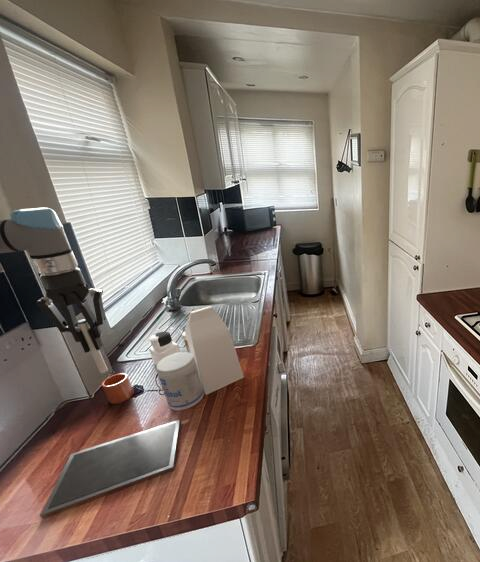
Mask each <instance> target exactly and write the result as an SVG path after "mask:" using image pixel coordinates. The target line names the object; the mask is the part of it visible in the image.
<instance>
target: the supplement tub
mask: <svg viewBox="0 0 480 562" xmlns="http://www.w3.org/2000/svg"><path fill="white" fill-rule="evenodd" d="M156 372H157V377H158V379H159V383H160V385H161V388H162V390H163V394H164V396H165V399H166V402H167V405H168V407H169V408H170V409H171V410H172V411H184V410H187V409H190V408H192V407H194V406H196V405H197V404H199V403H200V402H201V401H202V400H203V398H204V395H205V392H204V391H203V387H202V384H201V380H200V377H199V373H198V369H197V366H196V362H195V359H194V357H193V355H192V354H191V353H188V352H187V351H180V352H179V353H175V354H172V355H169V356H167V357H165V358H164V359H162V360H161V361H160V362H159V363H158V364H157V366H156Z"/></svg>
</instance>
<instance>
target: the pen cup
mask: <svg viewBox="0 0 480 562" xmlns="http://www.w3.org/2000/svg"><path fill="white" fill-rule="evenodd" d="M101 386H102V389H103V390H104V393H105V395H106V397H107V399H108V402H109V403H110V404H120V403H123V402H125V401H128V400H129V399H130V398H132V397H133V395H134V394H135V390H134V388H133V385H132V382H131V380H130V378H129V376H128V374H127V373H125V372H120V373H115V374H112V375H111V376H108V377H107V378H105V379H104V380H103V381H102V382H101Z"/></svg>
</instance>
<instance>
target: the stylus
mask: <svg viewBox="0 0 480 562" xmlns="http://www.w3.org/2000/svg"><path fill="white" fill-rule="evenodd" d="M77 322H78V326H79V328H80V329H81V331H82V333H83V336H84V338H85V340H86V342H87V345H88V347H89V349H90V351H89V352H90V354H91V356H92V358H93V360H94V363H95V364H96V367H97V370H98V371H99V373H100V374H105V373H108V371H109V368H108V366H107V364H106V362H105V359H104V357H103V355H102V353H101V349H100V350H96V348H95V346H94V344H93V342H92V339H91V337H90V335H89V333H88V329H89V328H90V326H89V325H88V323H87V321H86V319H85V318H83V319H79V320H77Z"/></svg>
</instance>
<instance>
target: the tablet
mask: <svg viewBox="0 0 480 562" xmlns="http://www.w3.org/2000/svg"><path fill="white" fill-rule="evenodd" d="M181 426H182V420H181V419H176V420H173V421H171V422H167V423H164V424H161V425H157V426H155V427H151V428H147V429H145V430H142V431H139V432H135V433H132V434H130V435H126V436H123V437H119V438H117V439H113V440H110V441H107V442H104V443H101V444H96V445H93V446H91V447H87V448H84V449H82V450H77V451H75V452H72V453H71V454H70V455H69V457H68V458H67V461H66V462H65V464H64V467H63V469H62V470H61V473H60V475H59V477H58V478H57V481H56V483H55V484H54V487H53V489H52V491H51V493H50V494H49V496H48V499H47V500H46V502H45V505H44V506H43V508H42V510H41V512H40V514H39V517H40V518H41V520H42V519H45V518H49V517H51V516H53V515H56V514H59V513H63V512H65V511H67V510H70V509H72V508H76V507H78V506H80V505H83V504H86V503H89V502H91V501H94V500H97V499H99V498H103V497H105V496H108V495H111V494H113V493H116V492H119V491H122V490H125V489H128V488H129V487H133V486H135V485H138V484H140V483H144V482H146V481H149V480H151V479H153V478H157V477H160V476H162V475H164V474H168V473H170V472H172V471H175V469H176V462H177V455H178V447H179V441H180V435H181V428H182V427H181Z"/></svg>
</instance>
